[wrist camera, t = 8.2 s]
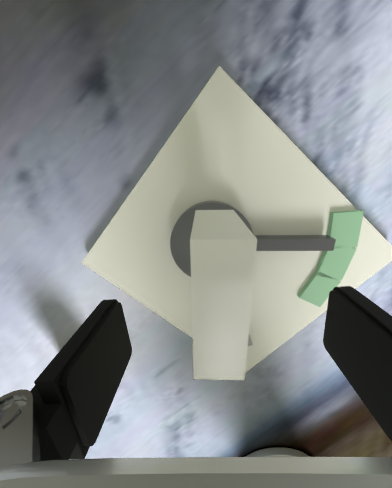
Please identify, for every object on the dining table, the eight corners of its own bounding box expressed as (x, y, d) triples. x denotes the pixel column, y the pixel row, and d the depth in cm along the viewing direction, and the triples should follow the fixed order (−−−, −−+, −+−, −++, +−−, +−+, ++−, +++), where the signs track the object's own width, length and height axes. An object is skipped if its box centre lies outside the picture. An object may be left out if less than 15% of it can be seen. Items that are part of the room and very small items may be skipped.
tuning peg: (174, 274, 20) (145, 378, 10) (170, 201, 17) (127, 239, 7) (317, 275, 19) (439, 384, 9) (333, 199, 17) (517, 238, 7)
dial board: (387, 247, 20) (406, 255, 18) (242, 362, 25) (245, 377, 23) (218, 73, 16) (220, 60, 14) (89, 256, 21) (78, 265, 19)
